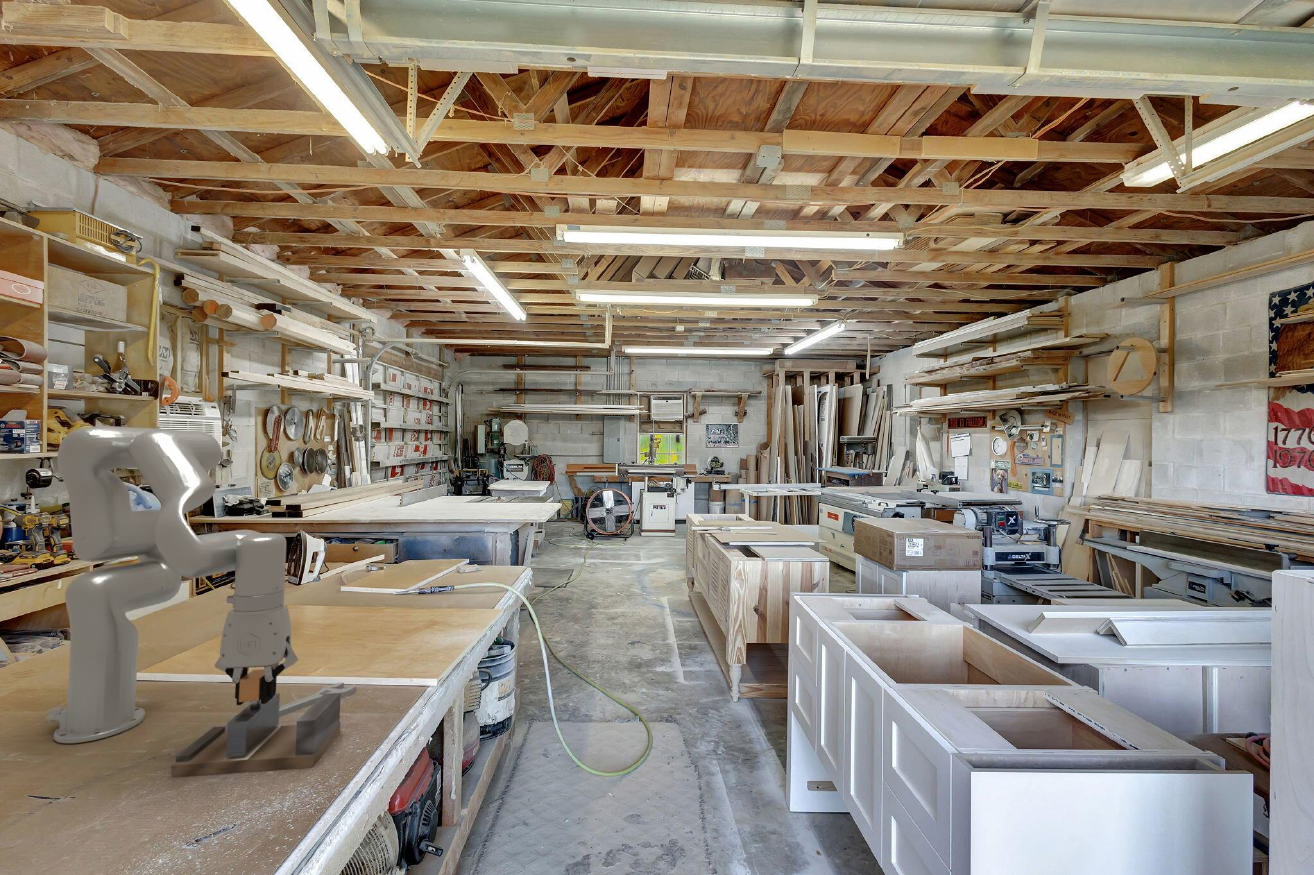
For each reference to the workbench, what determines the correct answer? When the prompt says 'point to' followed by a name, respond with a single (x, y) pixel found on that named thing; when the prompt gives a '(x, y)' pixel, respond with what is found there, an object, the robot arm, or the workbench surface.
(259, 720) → the sliding jaw
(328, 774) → the workbench surface
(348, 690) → the adjustable wrench
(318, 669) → the workbench surface
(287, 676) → the workbench surface
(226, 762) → the bench vise
